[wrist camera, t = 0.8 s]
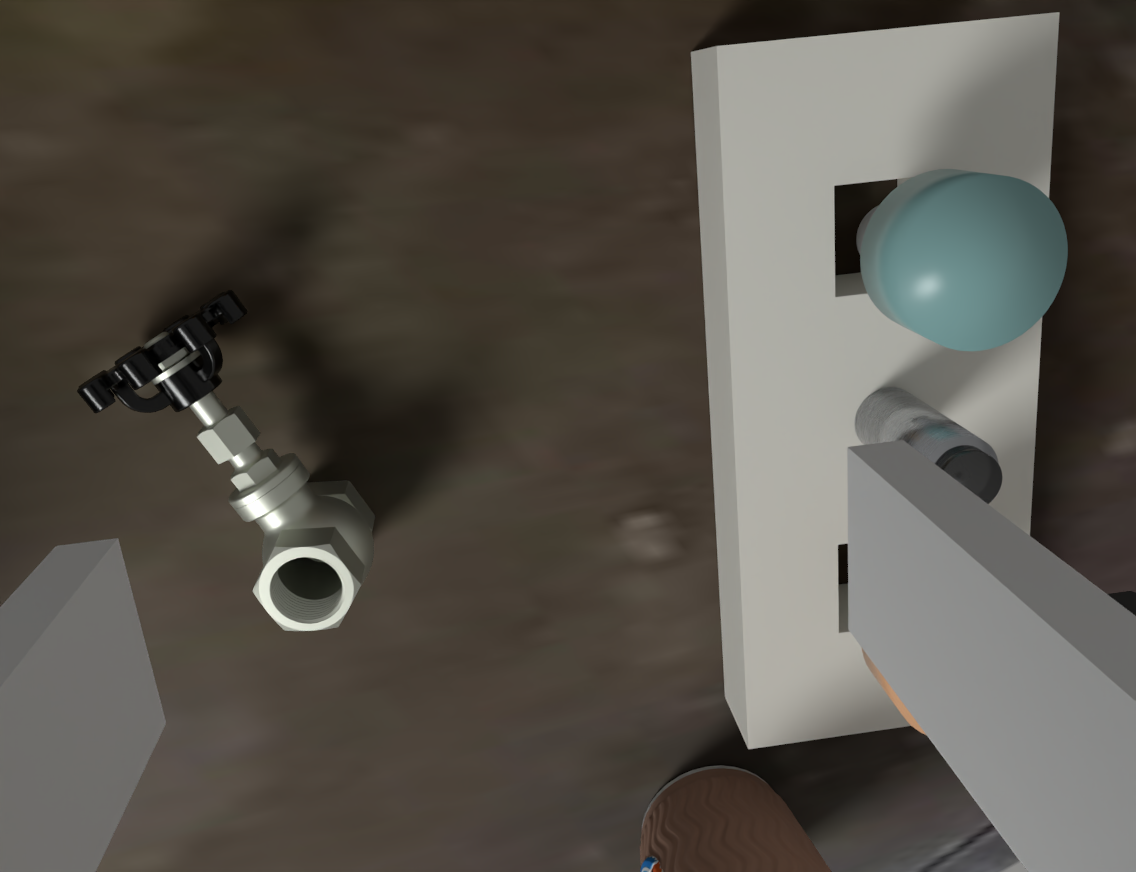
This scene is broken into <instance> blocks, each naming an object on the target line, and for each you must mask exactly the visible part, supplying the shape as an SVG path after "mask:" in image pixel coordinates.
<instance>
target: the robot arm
mask: <svg viewBox="0 0 1136 872" xmlns="http://www.w3.org/2000/svg"><path fill="white" fill-rule="evenodd" d="M847 462H848V630H849V631H850V632H851V634H852V635H853V636H854V638H855V639H856V640H857V642H858V643H859V644H860V646H861V647H862V648H863V650H864V651H865V653H866V654H867V655H868V657H869V658H870V659H871V661H872V662H873V663H874V665H875V666H876V667H877V669H878V670H879V671H880V673H881V674H882V675H883V677H884V678H885V680H886V681H887V682H888V684H889V685H890V686H891V688H892V689H893V690H894V692H895V693H896V694H897V696H898V697H899V698H900V700H901V701H902V702H903V704H904V705H905V707H906V708H907V709H908V711H909V712H910V713H911V715H912V716H913V717H914V719H915V720H916V721H917V723H918V724H919V725H920V727H921V728H922V729H923V731H924V732H925V734H926V735H927V736H928V738H929V739H930V740H931V742H932V743H933V744H934V746H935V747H936V748H937V750H938V751H939V752H940V754H941V755H942V757H943V758H944V759H945V761H946V762H947V763H948V765H949V766H950V767H951V769H952V770H953V771H954V773H955V774H956V775H957V777H958V778H959V779H960V781H961V782H962V784H963V785H964V786H965V788H966V789H967V790H968V792H969V793H970V794H971V796H972V797H973V798H974V800H975V801H976V802H977V804H978V805H979V806H980V808H981V809H982V811H983V812H984V813H985V815H986V816H987V817H988V819H989V820H990V821H991V823H992V824H993V825H994V827H995V828H996V829H997V831H998V832H999V834H1000V835H1001V836H1002V838H1003V839H1004V840H1005V842H1006V843H1007V844H1008V846H1009V847H1010V848H1011V850H1012V851H1013V852H1014V854H1015V855H1016V856H1017V858H1018V859H1019V861H1020V862H1021V863H1022V865H1023V866H1024V867H1025V869H1026V870H1027V871H1028V872H1136V593H1135V592H1132V591H1127V592H1119V593H1112V594H1106V593H1105V592H1103V591H1102V590H1101V589H1099V588H1098V587H1097V586H1095V585H1094V584H1093V583H1092V582H1090V581H1089V580H1088V579H1086V578H1085V577H1084V576H1082V575H1081V574H1080V573H1078V572H1077V571H1076V570H1074V569H1073V568H1072V567H1070V566H1069V565H1068V564H1066V563H1065V562H1064V561H1062V560H1061V559H1060V558H1058V557H1057V556H1056V555H1055V554H1053V553H1052V552H1051V551H1049V550H1048V549H1047V548H1045V547H1044V546H1043V545H1041V544H1040V543H1039V542H1037V541H1036V540H1035V539H1033V538H1032V537H1031V536H1029V535H1028V534H1027V533H1025V532H1024V531H1023V530H1021V529H1020V528H1019V527H1017V526H1016V525H1015V524H1014V523H1012V522H1011V521H1010V520H1008V519H1007V518H1006V517H1004V516H1003V515H1002V514H1000V513H999V512H998V511H996V510H995V509H994V508H992V507H991V506H990V505H988V504H987V503H986V502H984V501H983V500H982V499H980V498H979V497H978V496H977V495H975V494H974V493H973V492H971V491H970V490H969V489H967V488H966V487H965V486H963V485H962V484H961V483H959V482H958V481H957V480H955V479H954V478H953V477H951V476H950V475H949V474H947V473H946V472H945V471H943V470H942V469H941V468H939V467H938V466H937V465H936V464H934V463H933V462H932V461H930V460H929V459H928V458H926V457H925V456H924V455H922V454H921V453H920V452H918V451H917V450H916V449H914V448H913V447H912V446H910V445H909V444H908V443H906V442H905V441H904V440H899V441H891V442H883V443H875V444H867V445H859V446H851V447H847ZM165 724H166V721H165V717H164V713H163V710H162V706H161V702H160V698H159V694H158V690H157V687H156V683H155V679H154V675H153V671H152V667H151V663H150V660H149V656H148V652H147V648H146V644H145V640H144V637H143V633H142V629H141V625H140V621H139V617H138V613H137V610H136V606H135V602H134V598H133V594H132V590H131V587H130V583H129V579H128V575H127V571H126V567H125V563H124V560H123V556H122V552H121V548H120V544H119V540H118V538H116V539H108V540H100V541H92V542H84V543H77V544H69V545H61V546H56V547H55V548H54V549H53V550H52V551H51V552H50V553H49V554H48V556H47V557H46V558H45V559H44V560H43V561H42V562H41V563H40V564H39V565H38V566H37V568H36V569H35V570H34V571H33V572H32V573H31V574H30V575H29V576H28V577H27V578H26V580H25V581H24V582H23V583H22V584H21V585H20V586H19V587H18V588H17V589H16V590H15V592H14V593H13V594H12V595H11V596H10V597H9V598H8V599H7V600H6V601H5V602H4V604H3V605H2V606H1V607H0V872H96V870H97V868H98V865H99V863H100V861H101V859H102V857H103V855H104V853H105V851H106V849H107V846H108V844H109V842H110V840H111V838H112V836H113V834H114V832H115V830H116V828H117V825H118V823H119V821H120V819H121V817H122V815H123V813H124V811H125V809H126V807H127V804H128V802H129V800H130V798H131V796H132V794H133V792H134V790H135V788H136V785H137V783H138V781H139V779H140V777H141V775H142V773H143V771H144V769H145V767H146V764H147V762H148V760H149V758H150V756H151V754H152V752H153V750H154V748H155V746H156V743H157V741H158V739H159V737H160V735H161V733H162V731H163V729H164V727H165Z"/></svg>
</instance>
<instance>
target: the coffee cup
mask: <svg viewBox="0 0 1136 872" xmlns="http://www.w3.org/2000/svg"><path fill="white" fill-rule="evenodd" d="M640 859H641V872H831V870H830V869H829V867H828V866H827V865H826V863H825V861H824V860H823V858H822V857H821V855H820V854H819V852H818V851H817V849H816V848H815V846H814V845H813V843H812V842H811V840H810V839H809V837H808V836H807V834H806V833H805V831H804V830H803V828H802V827H801V825H800V824H799V823H798V822H797V820H796V818H795V817H794V815H793V814H792V812H791V811H790V809H789V808H788V806H787V805H786V803H785V802H784V801H783V800H782V798H781V797H780V796H779V795H778V794H776V793H775V792H774V790H773V789H772V788H771V787H770V786H769V785H768V784H767V783H766V782H765V781H764V780H763V779H761V778H760V777H759V776H758V775H756V774H754V773H752V772H750V771H748V770H745V769H741V768H738V767H734V766H723V765H718V766H706V767H702V768H698V769H694V770H691V771H689V772H687V773H684V774H682V775H680V776H678V777H677V778H675V779H674V780H672V781H671V782H669V783H668V784H666V785H665V786H664V787H663V788H662V789H661V790H660V791H659V792H658V793H657V794H656V796H655V797H654V798H653V800H652V801H651V802H650V804H649V806H648V808H647V810H646V813H645V815H644V819H643V824H642V835H641V845H640Z"/></svg>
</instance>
